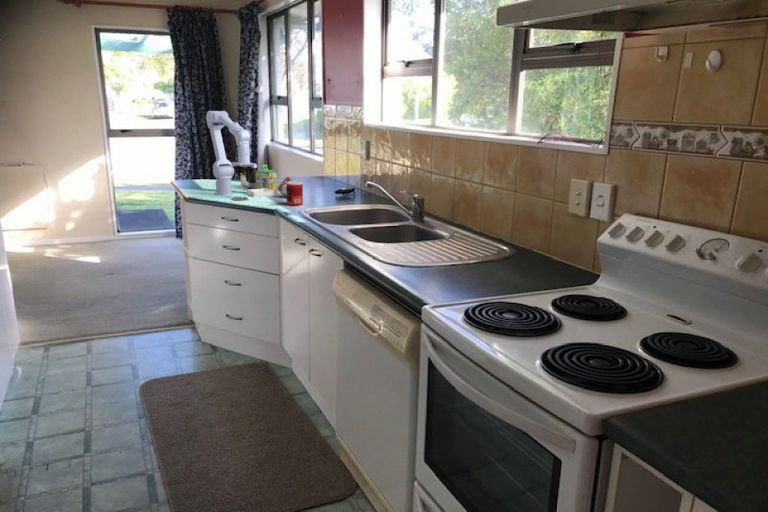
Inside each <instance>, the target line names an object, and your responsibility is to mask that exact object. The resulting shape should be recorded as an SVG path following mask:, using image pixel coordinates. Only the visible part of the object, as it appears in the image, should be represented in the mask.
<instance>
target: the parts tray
mask: <svg viewBox="0 0 768 512" xmlns="http://www.w3.org/2000/svg"><path fill="white" fill-rule="evenodd" d="M246 195H248V196H251V197H253V198H260V197H271V196H272V197H273V196H275V191H273V190H270V189H267V188H263V189H256V188H252V189H246Z"/></svg>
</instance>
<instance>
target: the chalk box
mask: <svg viewBox="0 0 768 512" xmlns="http://www.w3.org/2000/svg"><path fill="white" fill-rule="evenodd" d="M255 176H256V187H255V189H263V188H267V189H270V190H273V191H274V192H277V191H279V190H278V186H279V184H278V170H276V169H275V170H273V169H269V168H268V164H263V165H262V169H259V170H256V171H255ZM276 190H277V191H276Z"/></svg>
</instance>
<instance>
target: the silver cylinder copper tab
mask: <svg viewBox="0 0 768 512" xmlns="http://www.w3.org/2000/svg"><path fill="white" fill-rule="evenodd" d="M240 178H241V181H240V186H241V187H243V186H249V182H247V180H246V172H245V173H240Z"/></svg>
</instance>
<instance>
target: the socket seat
mask: <svg viewBox="0 0 768 512" xmlns="http://www.w3.org/2000/svg"><path fill="white" fill-rule="evenodd" d="M229 200H231V201H232V202H242V201H245V202H246V201H250V199H249V198H248V197H246V196H243V197H242V196H235V197H231V198H229Z"/></svg>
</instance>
